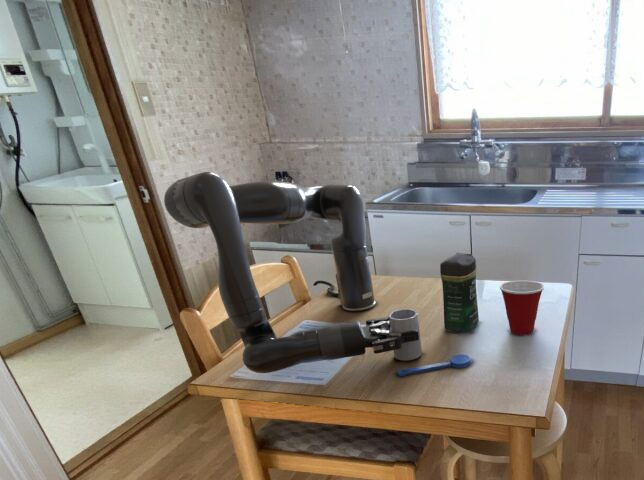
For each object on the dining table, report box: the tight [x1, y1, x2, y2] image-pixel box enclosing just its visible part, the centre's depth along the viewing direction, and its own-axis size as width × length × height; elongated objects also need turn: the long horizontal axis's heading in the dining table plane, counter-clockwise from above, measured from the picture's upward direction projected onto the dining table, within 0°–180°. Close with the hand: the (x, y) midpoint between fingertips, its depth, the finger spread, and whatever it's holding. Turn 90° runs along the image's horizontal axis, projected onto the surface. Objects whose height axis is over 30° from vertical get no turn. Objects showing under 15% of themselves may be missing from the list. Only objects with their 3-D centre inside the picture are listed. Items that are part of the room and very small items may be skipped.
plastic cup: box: [499, 279, 545, 336], centre depth 127 cm, size 11×11×12 cm
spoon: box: [396, 353, 472, 377], centre depth 115 cm, size 17×5×1 cm, turn 108°
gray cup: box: [388, 308, 423, 361], centre depth 118 cm, size 6×6×10 cm
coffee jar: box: [439, 252, 480, 334], centre depth 129 cm, size 10×8×19 cm
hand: (415, 328), depth 118 cm, fingers closed on gray cup, 6 cm apart
